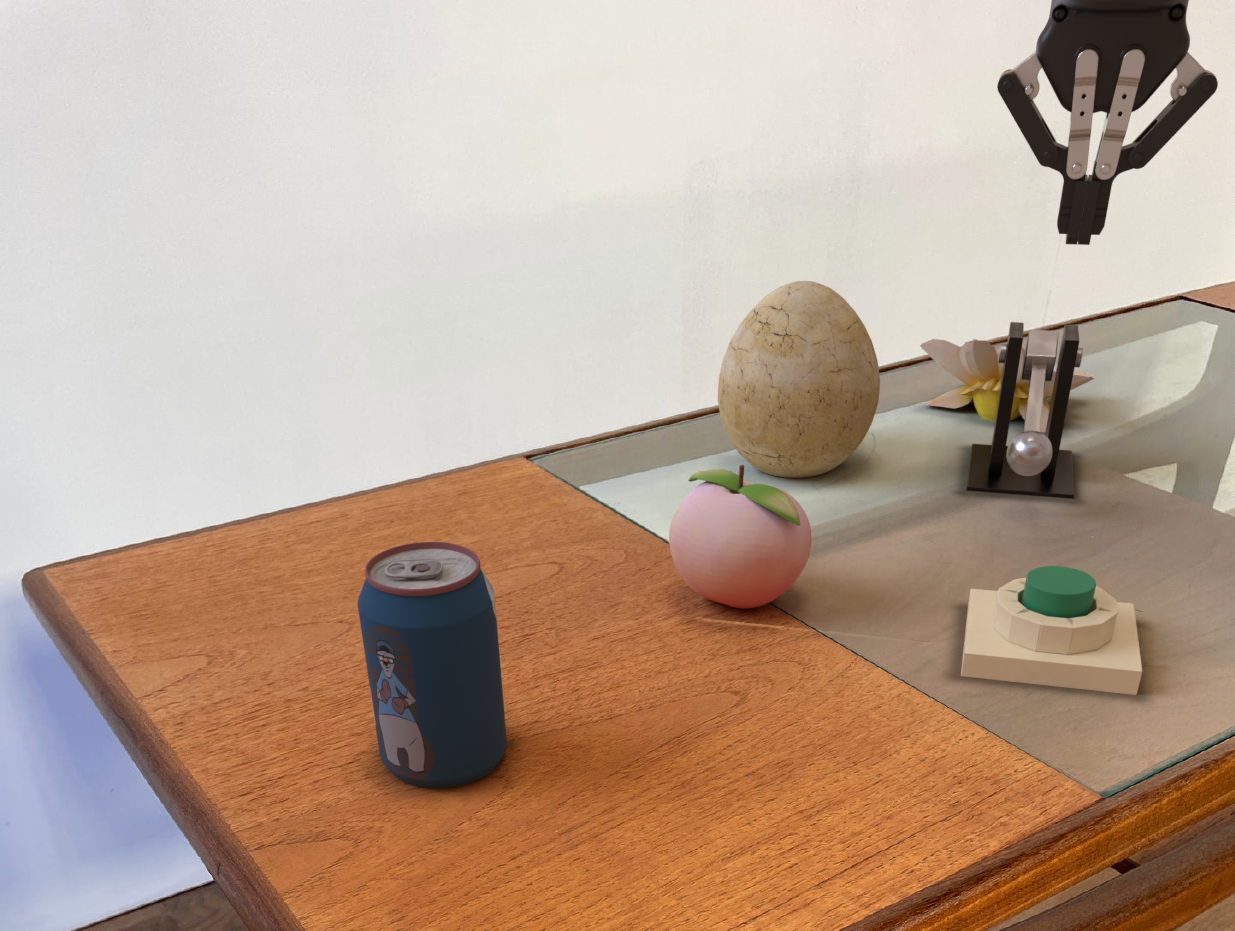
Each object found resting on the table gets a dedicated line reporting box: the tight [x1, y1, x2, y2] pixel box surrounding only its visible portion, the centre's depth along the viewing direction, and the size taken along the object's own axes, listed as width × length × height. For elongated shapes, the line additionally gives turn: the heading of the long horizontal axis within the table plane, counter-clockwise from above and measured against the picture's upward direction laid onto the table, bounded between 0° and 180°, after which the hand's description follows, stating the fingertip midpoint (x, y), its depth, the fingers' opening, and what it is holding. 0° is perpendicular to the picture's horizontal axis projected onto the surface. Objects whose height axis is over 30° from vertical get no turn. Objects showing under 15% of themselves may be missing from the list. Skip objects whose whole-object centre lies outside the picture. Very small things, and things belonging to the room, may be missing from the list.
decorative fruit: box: [668, 464, 812, 610], centre depth 82 cm, size 9×8×10 cm
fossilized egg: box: [717, 280, 881, 479], centre depth 101 cm, size 13×13×15 cm
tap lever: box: [1006, 329, 1060, 476], centre depth 95 cm, size 13×3×3 cm, turn 165°
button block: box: [960, 577, 1143, 696], centre depth 78 cm, size 10×9×4 cm
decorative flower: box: [919, 338, 1095, 433], centre depth 113 cm, size 15×11×10 cm
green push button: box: [1022, 565, 1097, 618], centre depth 77 cm, size 4×4×2 cm
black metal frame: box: [966, 321, 1084, 500], centre depth 100 cm, size 10×8×12 cm
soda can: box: [357, 541, 508, 789], centre depth 67 cm, size 7×7×12 cm
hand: (1077, 241), depth 81 cm, fingers closed
